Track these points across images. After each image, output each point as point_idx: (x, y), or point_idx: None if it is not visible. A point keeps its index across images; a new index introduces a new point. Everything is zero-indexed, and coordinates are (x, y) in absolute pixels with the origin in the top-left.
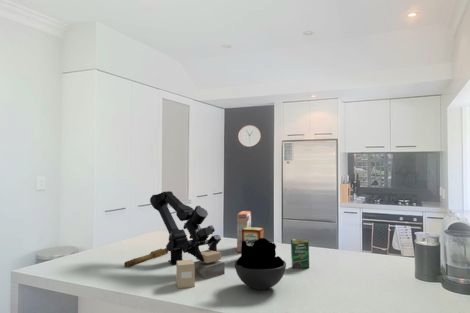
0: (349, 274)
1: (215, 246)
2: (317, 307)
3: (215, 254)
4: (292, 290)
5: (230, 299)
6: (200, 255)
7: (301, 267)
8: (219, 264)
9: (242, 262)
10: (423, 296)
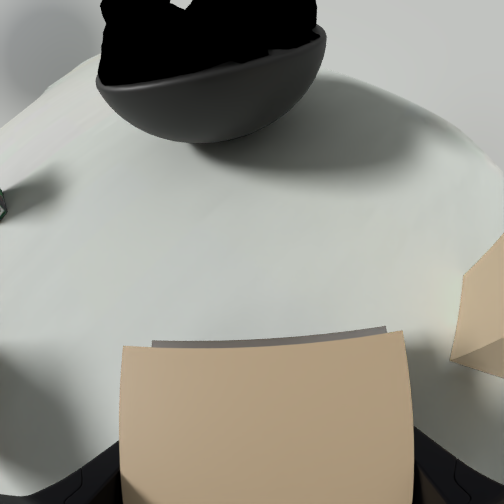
0: (30, 130)
1: (53, 501)
2: None
3: (228, 349)
4: None
5: (374, 115)
6: (436, 446)
7: (3, 198)
8: (217, 343)
9: (315, 11)
10: None
